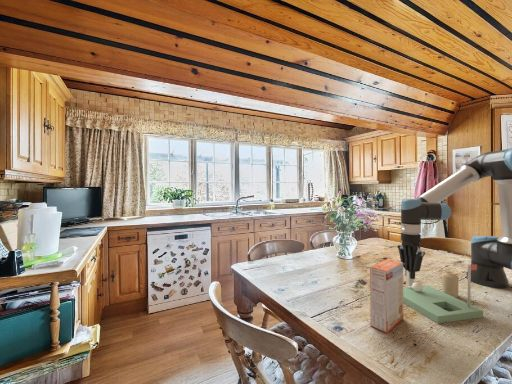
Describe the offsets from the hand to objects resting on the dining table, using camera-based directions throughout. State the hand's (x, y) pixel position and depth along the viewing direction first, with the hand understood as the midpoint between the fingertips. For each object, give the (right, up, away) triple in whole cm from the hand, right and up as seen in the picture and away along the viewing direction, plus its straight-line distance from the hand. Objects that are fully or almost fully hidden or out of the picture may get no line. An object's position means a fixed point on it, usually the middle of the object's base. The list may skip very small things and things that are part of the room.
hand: (410, 284), depth 105 cm
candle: (+17, -4, -2) cm, 17 cm away
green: (+2, -4, -11) cm, 11 cm away
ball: (+1, +1, -4) cm, 4 cm away
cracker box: (-23, -5, -22) cm, 33 cm away
